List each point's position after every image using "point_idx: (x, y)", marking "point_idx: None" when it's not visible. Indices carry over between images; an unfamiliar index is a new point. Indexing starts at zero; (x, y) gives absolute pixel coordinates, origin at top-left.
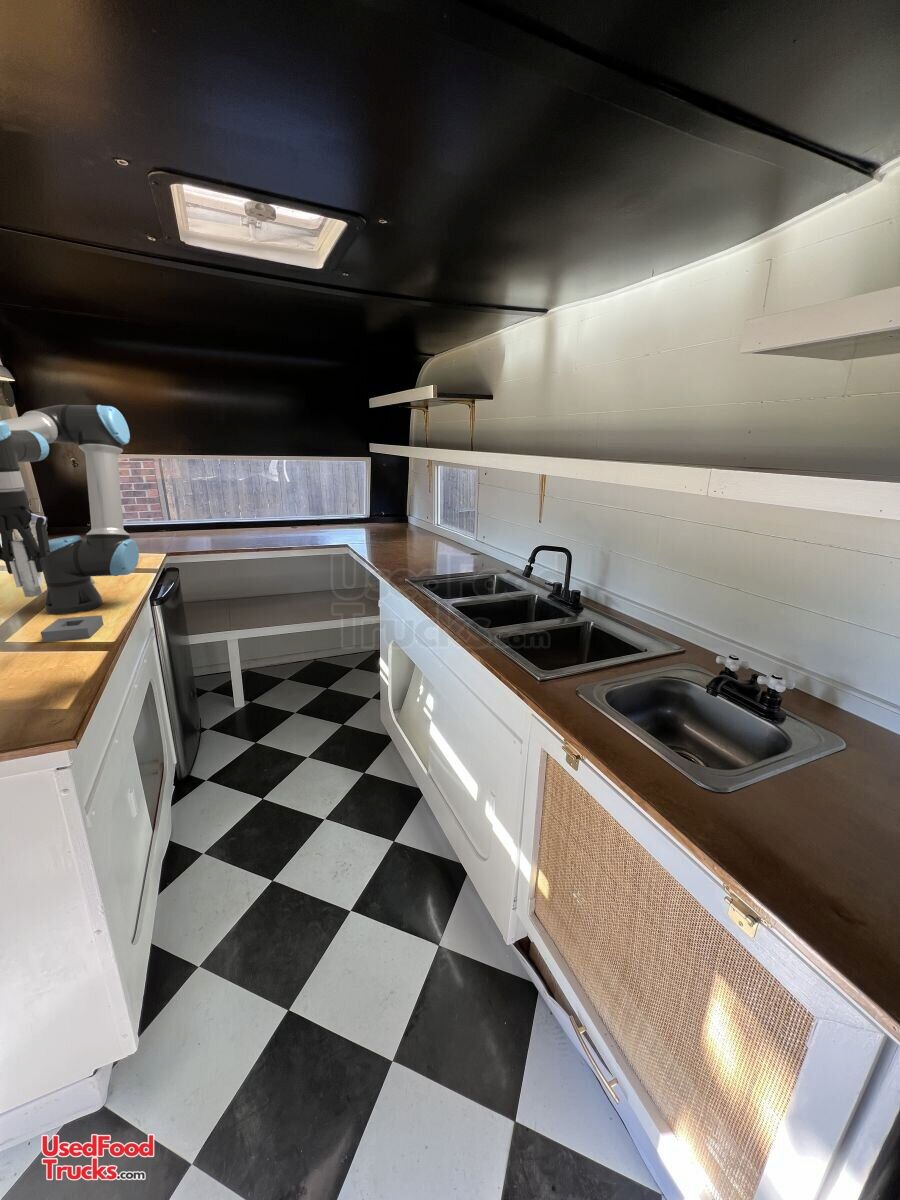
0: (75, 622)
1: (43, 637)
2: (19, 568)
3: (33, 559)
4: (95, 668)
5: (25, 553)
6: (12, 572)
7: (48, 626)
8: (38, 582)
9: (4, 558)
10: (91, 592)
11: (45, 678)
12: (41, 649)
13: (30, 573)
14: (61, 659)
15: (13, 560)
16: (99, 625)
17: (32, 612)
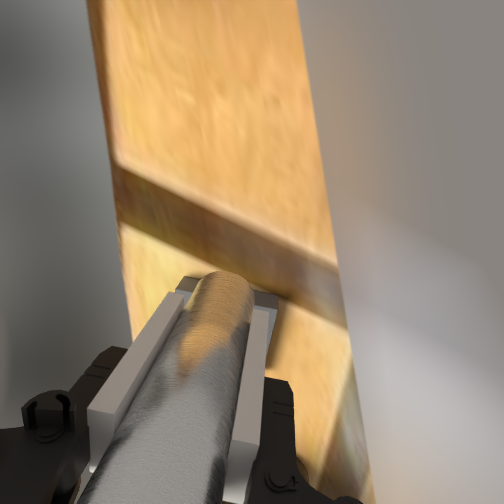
0: None
1: (274, 301)
2: (210, 378)
3: (56, 400)
4: (110, 34)
5: (86, 496)
6: (263, 372)
7: (268, 342)
8: (162, 301)
9: (287, 488)
10: None
11: (218, 14)
12: (272, 249)
13: (169, 343)
14: (212, 152)
15: (242, 477)
16: None
17: (333, 481)
